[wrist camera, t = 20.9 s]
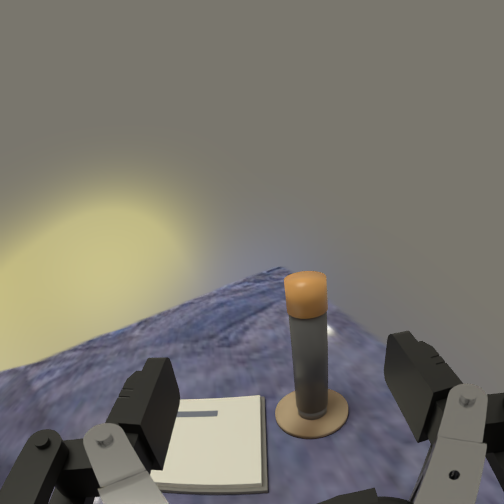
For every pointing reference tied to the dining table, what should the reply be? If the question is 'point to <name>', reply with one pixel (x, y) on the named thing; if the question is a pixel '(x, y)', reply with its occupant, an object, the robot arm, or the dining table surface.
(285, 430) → the coaster
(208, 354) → the dining table surface
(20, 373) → the dining table surface
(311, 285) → the marker
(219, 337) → the dining table surface
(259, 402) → the notepad
